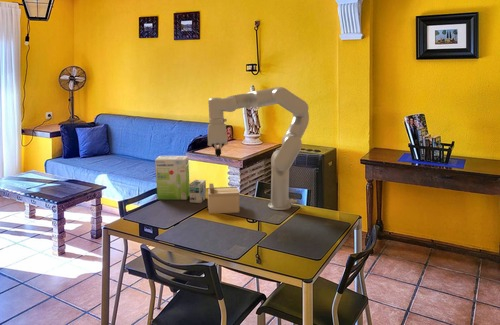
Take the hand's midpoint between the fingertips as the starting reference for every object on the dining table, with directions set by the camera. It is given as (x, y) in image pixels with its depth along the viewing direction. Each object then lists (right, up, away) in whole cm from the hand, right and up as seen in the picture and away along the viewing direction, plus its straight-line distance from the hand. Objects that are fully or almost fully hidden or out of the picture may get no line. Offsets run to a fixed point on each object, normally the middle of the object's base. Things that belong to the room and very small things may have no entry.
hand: (218, 156), depth 221 cm
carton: (+2, -29, +3) cm, 29 cm away
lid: (+2, -20, +1) cm, 20 cm away
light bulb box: (-13, -25, +19) cm, 34 cm away
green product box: (-28, -24, +23) cm, 44 cm away
